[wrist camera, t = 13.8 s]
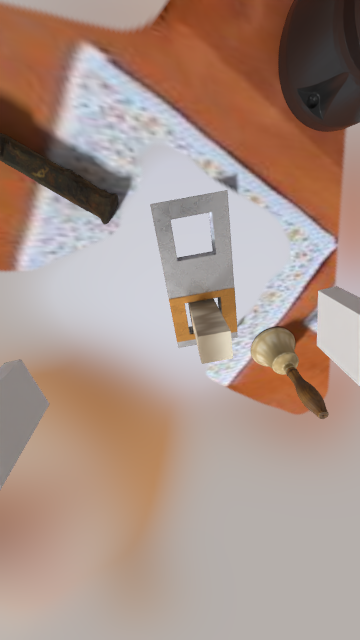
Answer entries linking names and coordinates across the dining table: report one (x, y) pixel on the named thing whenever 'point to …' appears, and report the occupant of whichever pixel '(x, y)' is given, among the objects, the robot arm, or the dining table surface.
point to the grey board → (197, 262)
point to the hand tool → (58, 179)
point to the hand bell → (286, 365)
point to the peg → (210, 331)
